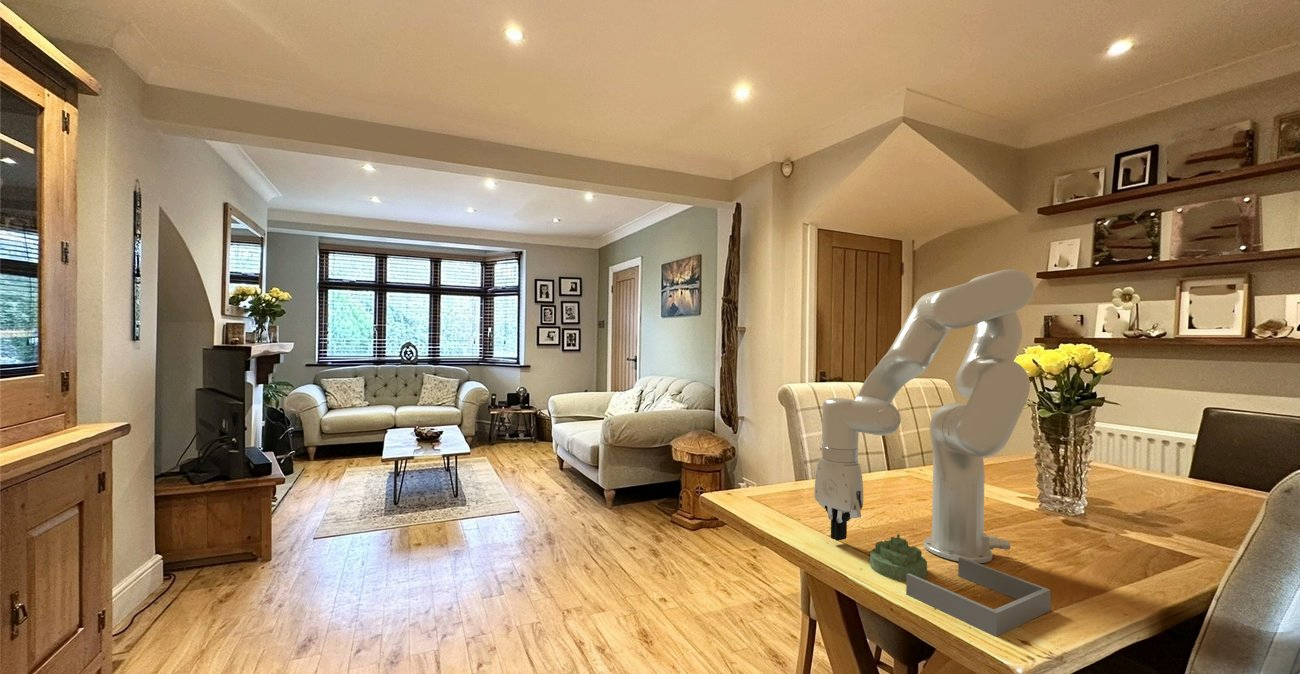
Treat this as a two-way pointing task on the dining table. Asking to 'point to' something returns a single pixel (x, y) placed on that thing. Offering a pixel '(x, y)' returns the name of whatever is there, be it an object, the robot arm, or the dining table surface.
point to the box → (993, 621)
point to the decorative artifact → (897, 559)
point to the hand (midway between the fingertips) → (838, 538)
